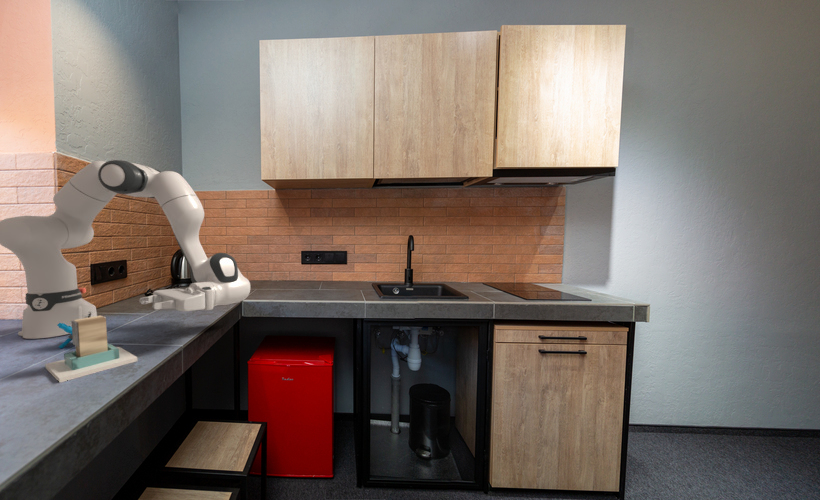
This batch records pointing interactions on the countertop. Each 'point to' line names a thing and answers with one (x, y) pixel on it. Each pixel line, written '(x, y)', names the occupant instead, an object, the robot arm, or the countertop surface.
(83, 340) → the block
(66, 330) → the blue crossed bar frame
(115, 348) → the socket base
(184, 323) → the countertop surface
